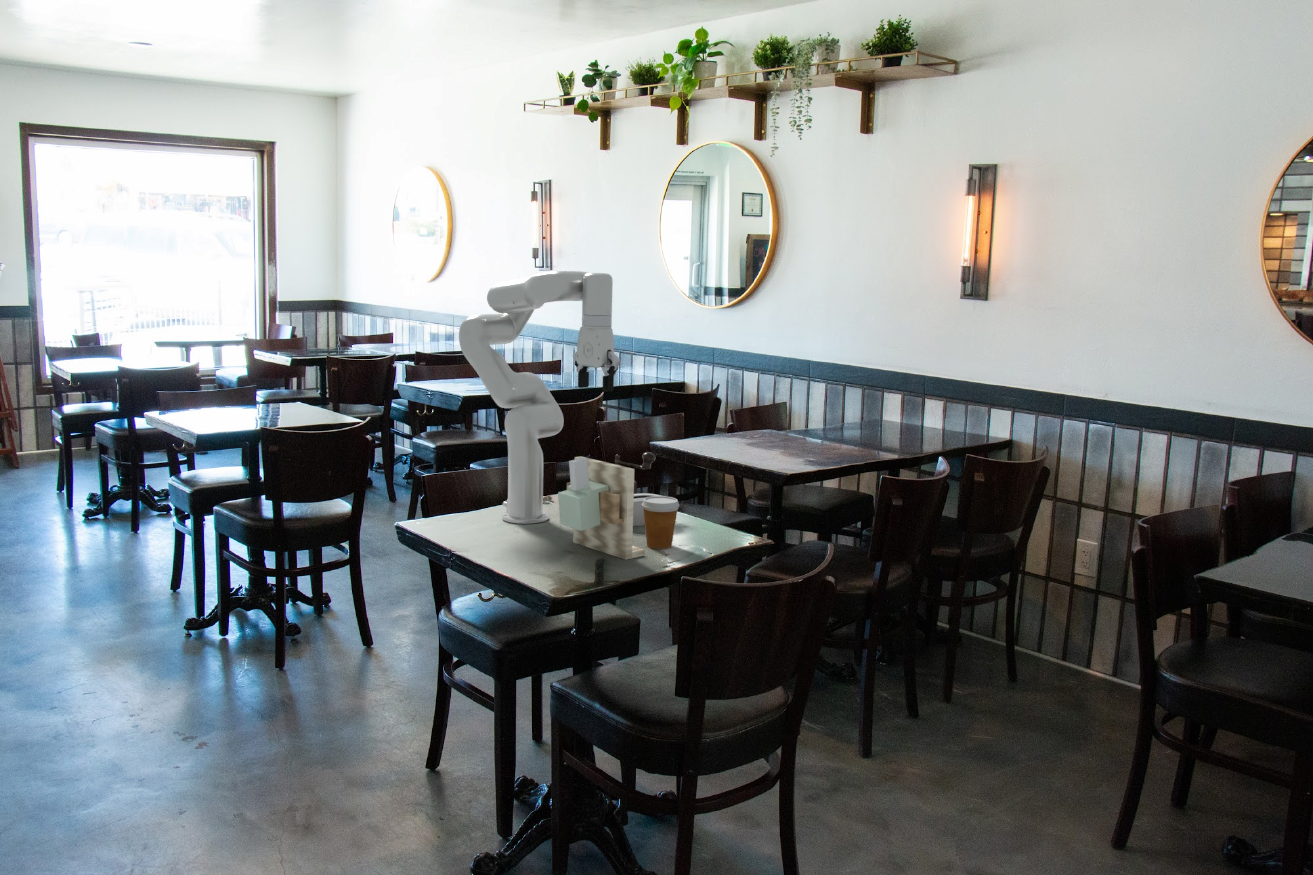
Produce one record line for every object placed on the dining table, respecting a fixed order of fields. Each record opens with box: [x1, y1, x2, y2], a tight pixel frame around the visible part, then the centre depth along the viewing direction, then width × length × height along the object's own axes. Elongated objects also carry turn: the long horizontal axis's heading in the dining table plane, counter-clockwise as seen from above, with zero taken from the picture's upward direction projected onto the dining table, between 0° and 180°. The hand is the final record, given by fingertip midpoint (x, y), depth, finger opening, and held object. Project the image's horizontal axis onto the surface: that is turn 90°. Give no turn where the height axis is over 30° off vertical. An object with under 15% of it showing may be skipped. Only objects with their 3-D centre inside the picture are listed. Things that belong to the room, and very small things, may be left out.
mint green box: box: [557, 457, 609, 531], centre depth 250 cm, size 8×9×16 cm
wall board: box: [566, 456, 645, 561], centre depth 255 cm, size 20×9×22 cm, turn 44°
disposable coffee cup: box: [642, 495, 680, 550], centre depth 261 cm, size 10×10×12 cm
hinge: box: [633, 492, 662, 527], centre depth 283 cm, size 17×5×10 cm, turn 102°
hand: (595, 389), depth 265 cm, fingers open, 9 cm apart
